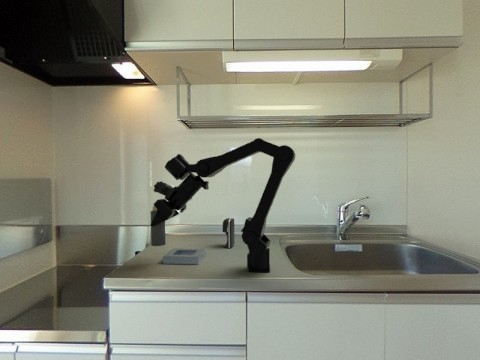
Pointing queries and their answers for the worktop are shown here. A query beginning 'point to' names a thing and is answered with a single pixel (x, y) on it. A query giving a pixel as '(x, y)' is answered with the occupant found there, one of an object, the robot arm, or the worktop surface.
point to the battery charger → (229, 232)
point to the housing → (184, 256)
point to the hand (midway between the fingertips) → (153, 224)
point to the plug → (157, 231)
